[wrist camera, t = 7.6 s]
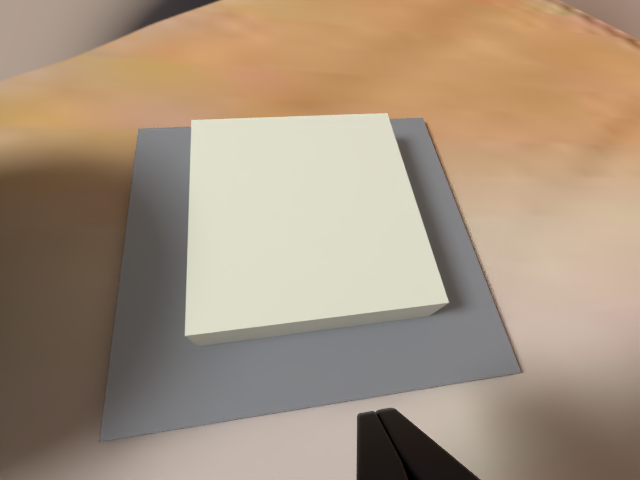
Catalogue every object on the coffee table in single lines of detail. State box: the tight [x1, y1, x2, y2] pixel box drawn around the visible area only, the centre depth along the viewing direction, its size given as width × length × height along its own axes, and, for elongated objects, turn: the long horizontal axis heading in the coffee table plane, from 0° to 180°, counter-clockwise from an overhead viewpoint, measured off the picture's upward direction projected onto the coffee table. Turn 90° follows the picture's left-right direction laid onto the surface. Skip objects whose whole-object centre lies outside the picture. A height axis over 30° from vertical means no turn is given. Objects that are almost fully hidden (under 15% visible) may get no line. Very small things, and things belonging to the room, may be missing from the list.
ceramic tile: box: [185, 113, 449, 346], centre depth 19 cm, size 2×12×12 cm
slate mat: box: [99, 118, 521, 442], centre depth 20 cm, size 18×20×1 cm
